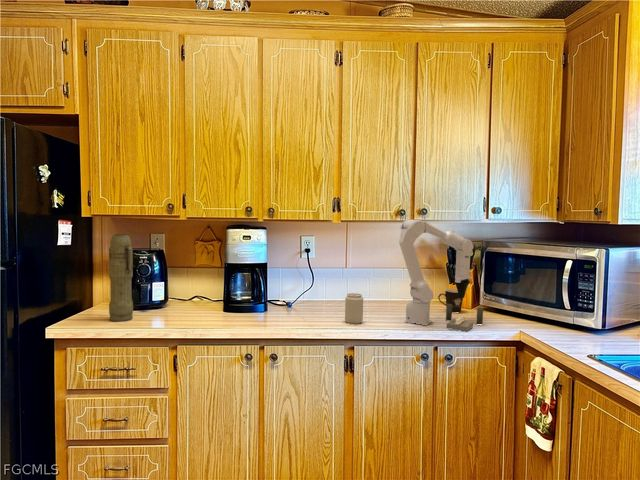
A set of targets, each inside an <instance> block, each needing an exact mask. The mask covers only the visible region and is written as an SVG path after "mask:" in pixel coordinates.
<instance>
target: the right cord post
mask: <svg viewBox="0 0 640 480" xmlns="http://www.w3.org/2000/svg"><path fill="white" fill-rule="evenodd" d="M483 319H484V308H482V307H477V308H476V325H477V324H483V322H484V320H483ZM483 325H484V324H483Z"/></svg>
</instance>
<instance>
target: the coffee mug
mask: <svg viewBox="0 0 640 480" xmlns="http://www.w3.org/2000/svg"><path fill="white" fill-rule="evenodd" d="M441 296H445V302H443V301H442V300H441V299H440V297H441ZM463 299H464V298H462V297H459V296H458V291H457V289H450V288H447V289H445V290H444V293H440V294H438V301H439V302H440V303H441V304H443V305H444V306H445V307H446V305H447V304H452V312H462V307H463V306H462V305H463Z"/></svg>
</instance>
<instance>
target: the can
mask: <svg viewBox="0 0 640 480" xmlns="http://www.w3.org/2000/svg"><path fill="white" fill-rule="evenodd" d="M362 295H363V294H362V293H358V292H357V293H356V292H355V293H354V292H353V293H351V292H350V293H347V294H346V297H345V299H344V300H345V301H344V321H345V322H346V323H347V324H350V325H351V324H352V325H360V324H361V323H362V322H363V320H364V319H363V318H364V298H363V296H362Z"/></svg>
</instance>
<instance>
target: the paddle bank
mask: <svg viewBox="0 0 640 480" xmlns="http://www.w3.org/2000/svg"><path fill="white" fill-rule="evenodd" d="M465 317H466V316H465V315H460V316H459V317H458V318H455V319H456V323H455V324H457V325H459V324H461V323H462V322H463V321H466V319H465Z"/></svg>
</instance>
